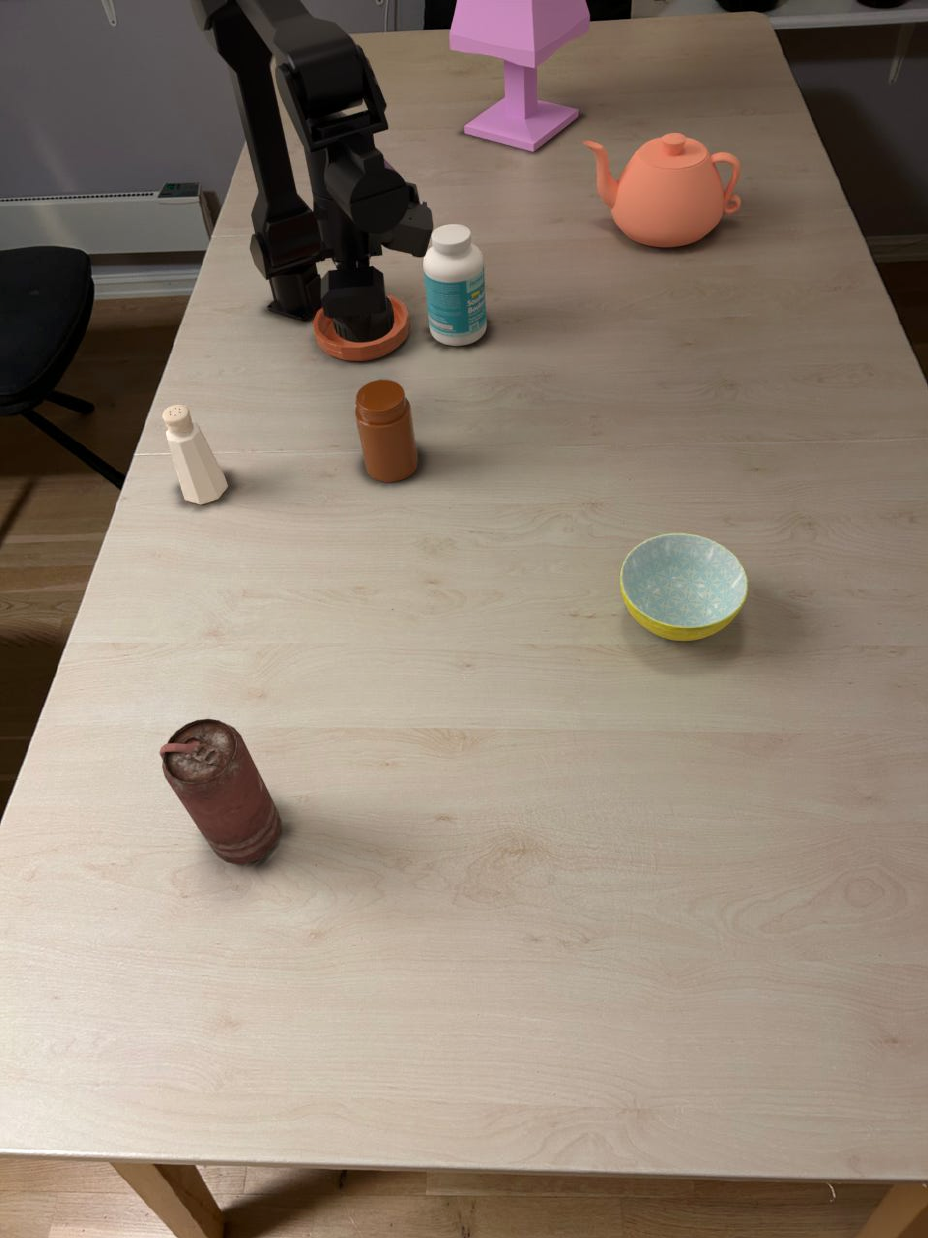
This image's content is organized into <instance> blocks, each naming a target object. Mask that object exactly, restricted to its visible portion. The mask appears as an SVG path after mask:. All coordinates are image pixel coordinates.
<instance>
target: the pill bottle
mask: <svg viewBox="0 0 928 1238" xmlns="http://www.w3.org/2000/svg"><path fill="white" fill-rule="evenodd" d="M422 259H423V260H422V269H423V277H424V287H425V295H426V305H427V315H428V325H429V330H430V334H431V336H432V337H433V339H434V340H435V341H437V342H438V343H440V344H443V345H445V346H453V347H462V346H467V345H470V344H473V343H475V342H477V341H479V340H480V339H481V338H482V337H483V336H484V335H485V333H486V331H487V326H488V320H487V319H488V318H487V301H486V300H487V299H486V282H485V281H486V279H485V278H486V277H485V259H484V255H483V252H482V251H481V249H480V248H479V246H477V245H476V244H474V243H472V233H471V230H470V229H469V228H468V227H467V226H465V225H463V224H458V223H450V224H449V223H448V224H444V225H441V226H438V227H437V228H435V229H433V231H432V235H431V246H430V248H428V249H427V252H426V256H425V257H423V258H422Z"/></svg>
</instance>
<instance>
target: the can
mask: <svg viewBox="0 0 928 1238" xmlns="http://www.w3.org/2000/svg"><path fill="white" fill-rule="evenodd" d="M158 752H159V755H160V756H159V757H160V758H161V759H162V764H161V769H162V772H163V775H164V778H165V780H166V782H167V783H168V784H169V786H170V787H171V789H172V790H173V792H174V794H175V795H176V797H177V798H178V800H179V801H180V803H181V804H182V806H183V807H184V809H185V810H186V812H187V814H188V815H189V816H190V818H191V819H192V821H193V823H194V825H196V827H197V828H198V830H199V832H200V833H201V835H202V836H203V838H204V839H205V841H206V842H207V844H208V845H209V847H210V848H211V850H212V851H213V852H214V854H215V855H216V857H218V858H219V859H221V860H223V861H225V862H226V863H229V864H235V865H243V864H250V863H252V862H255V861H257V860H260V859H261V858H263V857H264V856H265V855H267V854H268V853H269V852H271V851H272V849H273V848H274V846H275V845H276V843H277V842H278V841H279V838H280V834H281V831H282V818H281V815H280V812H279V810H278V808H277V806H276V804H275V802H274V800H273V798H272V795H271V794H270V792H269V790H268V787H267V786H266V784H265V782H264V780H263V777H262V775H261V773H260V771H259V769H258V767H257V765H256V763H255V761H254V759H253V756H252V754H251V753H250V750H249V749H248V747H247V745H246V742H245V740H244V738H243V737H242V735H241V733H239V731H237V729H236V728H235V727H234V726H232V725H231V724H228V723H226V722H223V721H221V720H220V719H213V718H201V719H195V720H193V721H191V722H188V723H185V724H184V725H183V726H181V727H180V728H178V729H177V730H176V731H175V732H174V733H173V734H172V735H171V737H170V738H169V739H168V740H167V743H165V744H163V745H162V746H161V747H160V749H159V751H158Z"/></svg>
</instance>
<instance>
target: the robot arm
mask: <svg viewBox="0 0 928 1238" xmlns="http://www.w3.org/2000/svg"><path fill="white" fill-rule="evenodd" d="M189 2H190V7H191V10H192V13H193V16H194V20H195V22H196V24H197V26H198V28H199V30H200V31H201V32H203V34H204V38H205V39H206V42H208V43H209V44H210V46H211V47H212V48H213V49H214V50H215V51H216V53H218V55H219V56H220V57H221V58H222V59H223V60H224V62H225V63H226V65H227V66H226V67H227V69H228V73H229V77H230V81H231V85H232V89H233V93H234V97H235V102H236V106H237V110H238V113H239V118H240V122H241V126H242V131H243V134H244V138H245V142H246V146H247V151H248V154H249V159H250V163H251V167H252V171H253V174H254V179H255V183H256V187H257V195H256V199H255V201H254V204H253V206H252V210H251V214H250V216H251V222H252V226H253V231H254V233H252V235H251V239H250V242H249V243H250V244H249V252H250V254H251V257H252V261H253V263H254V265H255V267H256V268H257V270H258V271H259V272H260V274H261V276H262V277H263V279H265V281H268V283H269V286H270V291H271V294H272V299H273V300H272V301H271V302H269V304H268V305H267V306H266V310H267V311H268V312H271V313H274V314H278V315H281V316H284V317H287V318H290V319H293V320H296V321H300V322H305V321H307V320H309V319H310V317H312V316H313V315H314V314H315V313H317V312H318V311H319V310H320V309H321V308H323V313H324V316H325V317H328V318H330V319H331V318H340V319H341V320H342V322H343V323H344V324H345V325H346V326H347V328H348V329H349V330H350V331H351V333H352V334H353V335H354V336H355V337H356V339H357V340H358V341H359V342H360V343H365V342H369V341H370V331H371V319H372V314H379V313H382V312H384V311H385V310H387V304H386V294H387V292H386V284H385V276H384V272H383V271H381V270H379V269H378V268H376V267H375V266H374V265H371V258H372V257H373V258H374V257H380V256H381V257H382V256H383V248H385V249H388V250H391V251H395V252H401V253H403V254H404V253H405V254H409V255H411V256H412V257H413V258H418V259H419V258H420V259H423V258H424V257H425V256H426V252H427V251H428V250H429V245H430V242H431V239H432V233H433V231H434V228H435V227H434V218H433V211H432V209H431V208H430V207H429V206H428V202H427V201H424V200H423V201H422V203H421V200H420V199H421V198H420V195H419V191H418V187H417V184H416V183H412V182H409V181H406V180H405V179H404V177H403V176H402V175H401V174H400V173H399V171H397V169H395V168H394V167H393V166H392V165H391V164H390V163H389V162H388V161H387V160H386V159H385V157H384V154H383V153H382V151H381V150H380V149H378V148H377V147H376V143H375V137H374V134H375V135H376V134H379V133H382V132H385V131H388V130H389V124H388V120H387V116H386V114H385V112H386V110H387V106H388V105H387V102H386V100H385V97H384V95H383V92H382V90H381V87H380V84H379V82H378V79H377V76H376V74H375V72H374V69H373V66H372V63H371V62H370V60H369V58H368V56H366V54H365V51H364V49H363V48H362V47H361V45H360V44H357V43H356V41H355V40H354V38H353V37H352V36H351V34H349V33H348V32H347V31H346V30H345V29H343V28H342V26H340V25H339V24H338V23H336V22H334V21H330V20H326V19H321V18H318V17H315V16H314V15H313V14H312V13H311V11H310V10H309V8H307V6H306V5H305V3H304V2H303V1H302V0H189ZM273 57H274V60H275V67H274V68H275V69H274V79H275V82H274V79H273V73H272V68H271V62H272V59H273ZM275 83H276V88H277V91H278V93H279V97H280V99H281V101H282V102H281V103H282V104H283V106H284V108H285V110H286V112H287V115H288V118H289V119H290V121H291V123H292V126H293V128H294V130H295V132H296V134H297V137H298V138H299V141H300V143H301V145H302V146H303V152H304V156H305V161H306V168H307V173H308V177H309V183H310V188H311V194H312V208H311V207H310V206H309V205H308V203H306V201H305V200H304V199H303V198H302V197H301V195H299V193H298V191H297V187H296V186H297V185H296V181H295V177H294V172H293V167H292V162H291V158H290V152H289V149H288V144H287V139H286V134H285V129H284V125H283V121H282V120H283V119H282V116H281V115H282V114H281V111H280V107H279V106H280V105H279V101H278V97H277V92H276V88H275ZM363 103H364V104H365V107H366V109H365V110H362V111H361V110H360V111H359V112H355V113H351V114H347V113H345V112H344V111H346V110H350V109H352V108H357V107H360V106H363ZM327 259H331V261H332V262H333V264H334V265H335V268H336V269H328V270H327V272H325V274H324V275H323V276H322V277H321V274H319V271H318V267H317V266H318V265H317V264H318V263H322V262H325V261H326V260H327Z"/></svg>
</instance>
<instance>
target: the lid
mask: <svg viewBox="0 0 928 1238" xmlns="http://www.w3.org/2000/svg"><path fill="white" fill-rule="evenodd" d="M386 304H387V310H385V311H384V312H382V313H379V314H372V319H371V331H370V341H369V342H372V341H375V340H378V339H380V338H382V337H384V336H385V335H387V334H388V333H389V332H390V331H391V330H392V328H393V326H394V323H395V321H394V312H393V307H392V303H391V301H390V299H389V298H388V297H387V296H386ZM332 320H333V325H334V329H335V331H336V334H338V335H339V336H340V337H341V338H342V339H344V340H346V341H350V342H355V343H360V342H359V341H358V340H357V339H356V337H355V336H354V335H353V334H352V333H351V331H350V330H349V329H348V328H347V326H346V325H345V324H344V323H343V322H342V320H341V319H340V318H332ZM365 343H366V342H365Z"/></svg>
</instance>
